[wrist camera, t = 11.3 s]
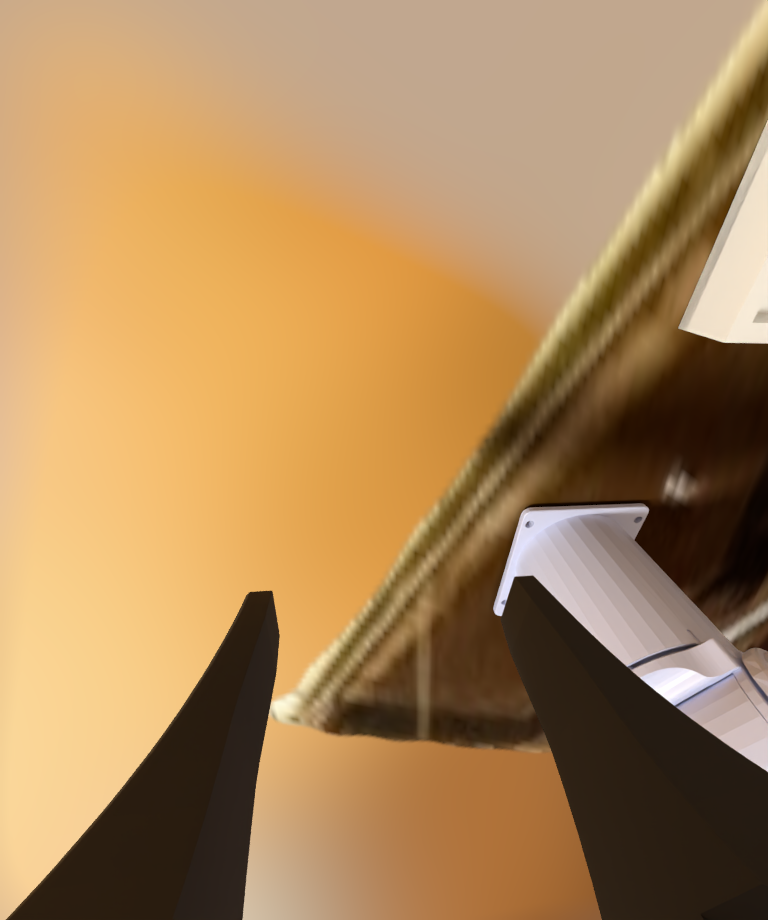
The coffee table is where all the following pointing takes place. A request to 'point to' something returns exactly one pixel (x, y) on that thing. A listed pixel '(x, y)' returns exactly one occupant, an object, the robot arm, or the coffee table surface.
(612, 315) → the coffee table surface
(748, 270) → the tray
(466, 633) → the coffee table surface
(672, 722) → the robot arm
